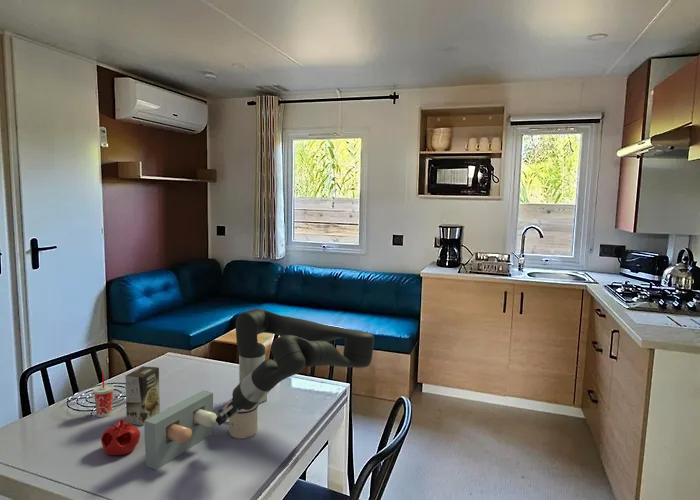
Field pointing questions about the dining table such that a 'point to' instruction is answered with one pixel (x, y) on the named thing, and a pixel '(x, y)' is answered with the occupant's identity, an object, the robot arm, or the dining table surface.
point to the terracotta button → (178, 433)
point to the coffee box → (142, 394)
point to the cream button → (204, 417)
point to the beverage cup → (103, 399)
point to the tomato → (120, 438)
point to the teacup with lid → (243, 423)
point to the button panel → (181, 414)
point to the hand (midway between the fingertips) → (219, 421)
